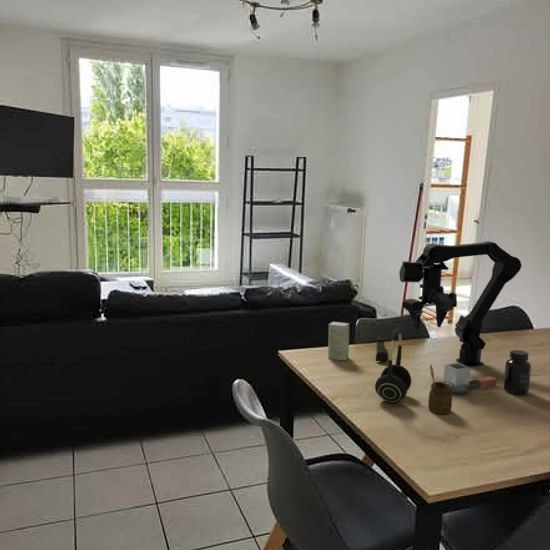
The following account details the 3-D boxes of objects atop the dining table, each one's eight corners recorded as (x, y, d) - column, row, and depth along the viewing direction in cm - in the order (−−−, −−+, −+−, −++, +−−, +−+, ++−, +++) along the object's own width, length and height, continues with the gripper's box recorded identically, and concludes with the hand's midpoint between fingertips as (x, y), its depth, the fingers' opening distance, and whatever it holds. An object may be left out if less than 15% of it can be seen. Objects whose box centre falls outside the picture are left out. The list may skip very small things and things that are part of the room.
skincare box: (348, 357, 180) (350, 323, 178) (345, 361, 176) (346, 326, 174) (331, 354, 182) (332, 320, 180) (327, 358, 178) (328, 323, 176)
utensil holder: (448, 417, 135) (451, 373, 133) (423, 411, 138) (427, 368, 136) (453, 409, 140) (457, 366, 138) (430, 403, 143) (433, 361, 141)
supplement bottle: (527, 388, 155) (531, 350, 153) (529, 397, 149) (534, 357, 147) (502, 385, 158) (506, 347, 156) (503, 393, 151) (508, 354, 149)
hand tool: (387, 364, 175) (388, 350, 174) (375, 363, 176) (376, 349, 175) (387, 347, 193) (387, 335, 192) (376, 346, 194) (376, 334, 193)
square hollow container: (456, 378, 156) (458, 362, 155) (468, 384, 151) (470, 368, 150) (443, 380, 154) (444, 364, 153) (455, 386, 149) (457, 370, 149)
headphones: (371, 405, 141) (375, 334, 138) (382, 386, 155) (386, 321, 151) (403, 411, 138) (408, 338, 135) (412, 391, 151) (417, 325, 148)
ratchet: (483, 379, 162) (484, 364, 161) (501, 388, 156) (503, 372, 155) (437, 387, 155) (438, 371, 154) (454, 396, 148) (456, 380, 147)
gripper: (426, 289, 161) (422, 337, 163) (471, 285, 168) (467, 331, 171) (402, 282, 170) (399, 328, 173) (446, 279, 178) (443, 323, 181)
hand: (428, 328), depth 174 cm, fingers open, 9 cm apart
